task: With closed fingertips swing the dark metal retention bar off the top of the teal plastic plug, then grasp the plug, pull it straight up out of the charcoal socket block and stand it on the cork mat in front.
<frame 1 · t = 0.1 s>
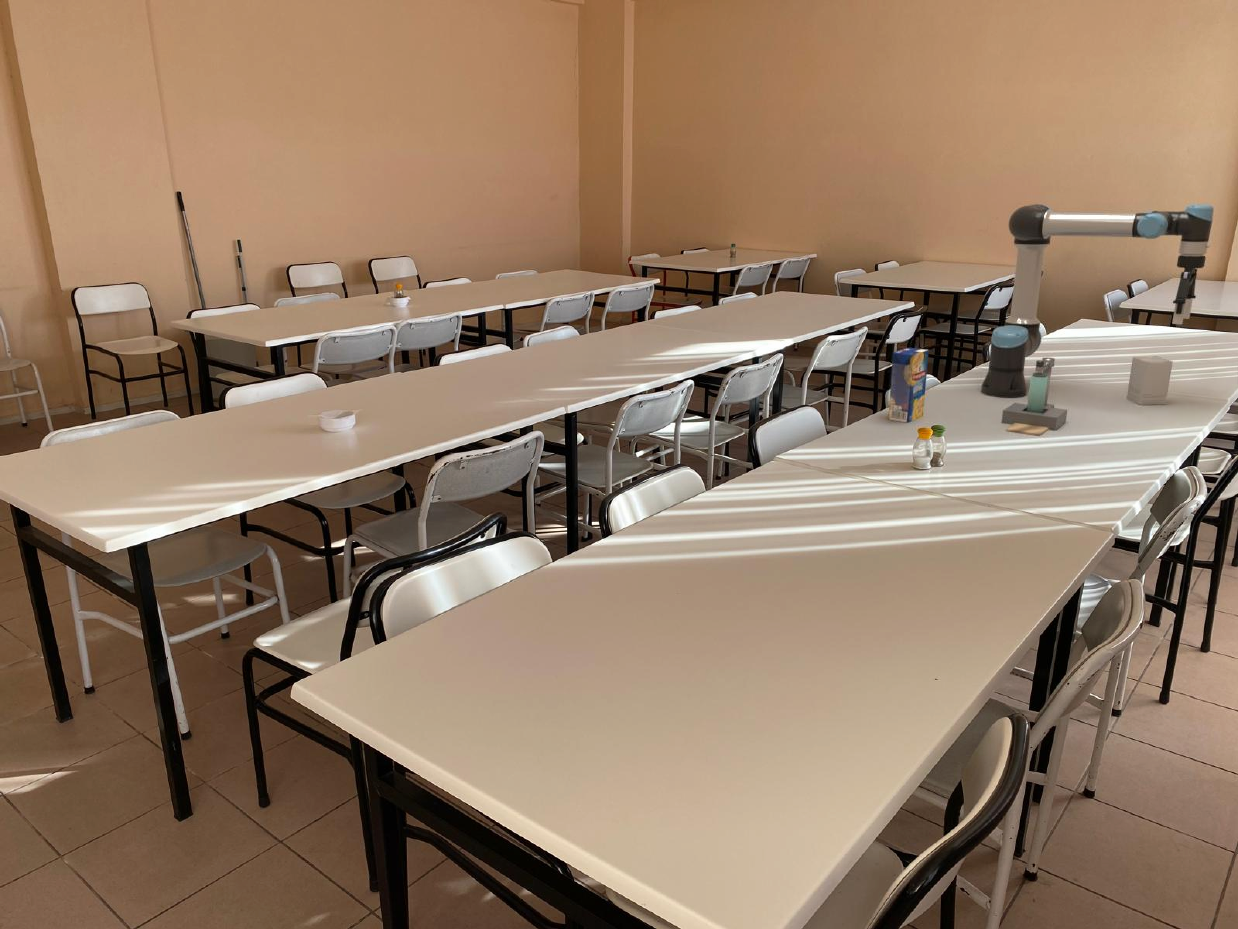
hand: (1180, 321, 292), 28 cm above the table, fingers open, 13 cm apart
socket block: (1033, 422, 283), on the table
blue food box: (905, 418, 292), on the table
cork mat: (1027, 429, 275), on the table
supplement box: (1145, 402, 304), on the table
plug: (1033, 422, 283), resting in socket block
clip: (1044, 363, 280), point 18 cm above the table, hinge at 0.0°
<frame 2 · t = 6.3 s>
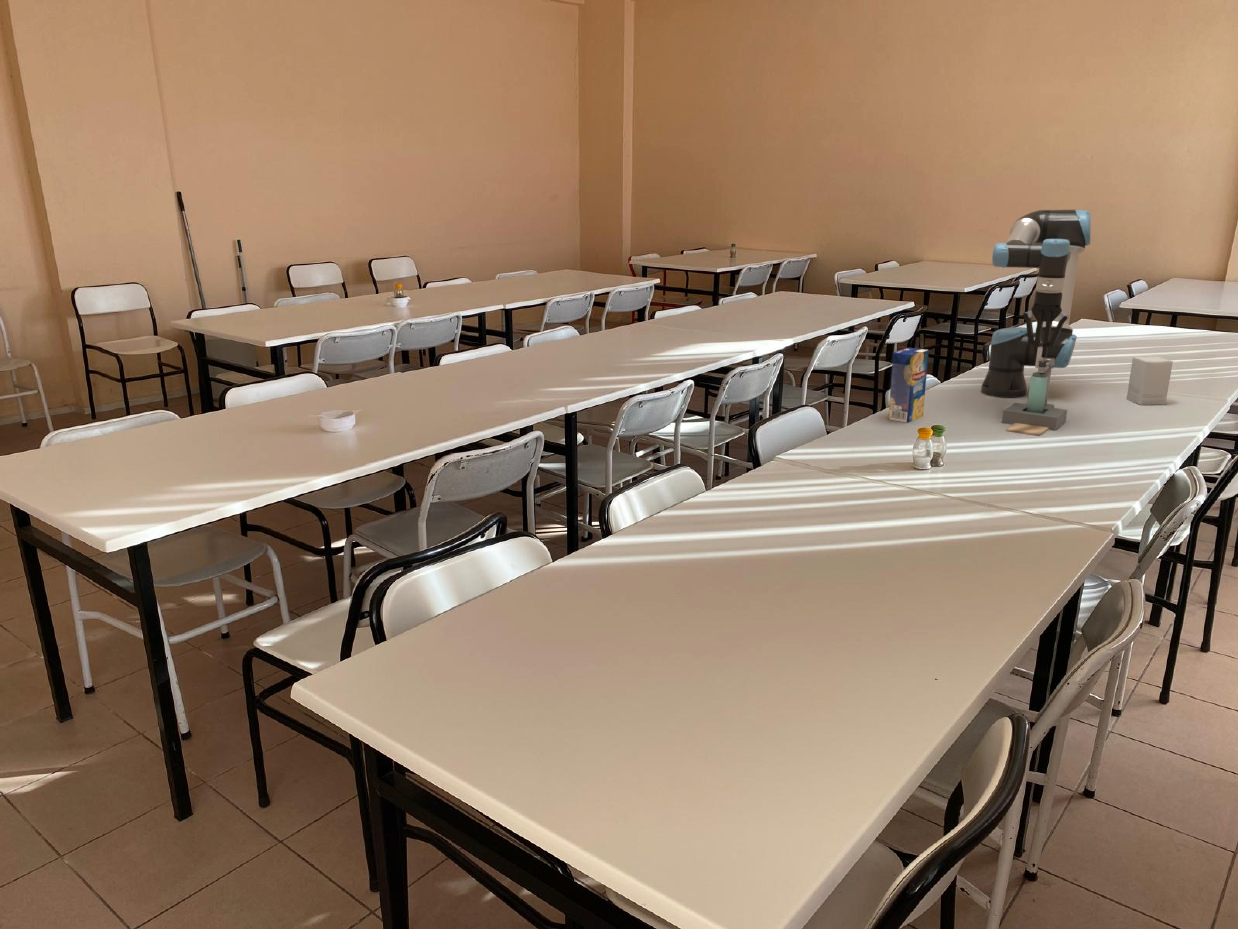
hand: (1038, 367, 279), 18 cm above the table, fingers closed
clip: (1045, 363, 280), point 18 cm above the table, hinge at 4.6°, touching gripper
everything else where it was.
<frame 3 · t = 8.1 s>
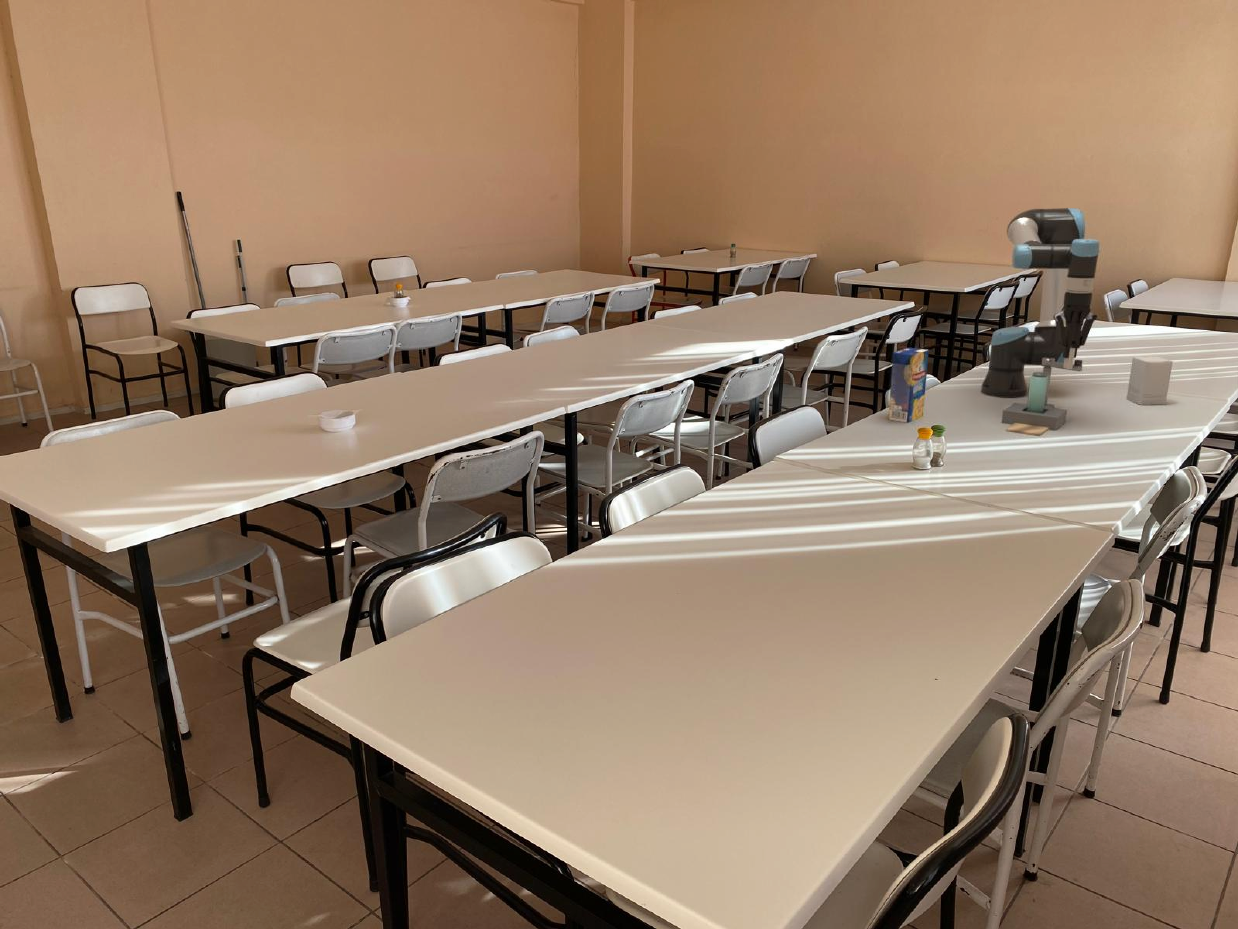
hand: (1067, 368, 276), 17 cm above the table, fingers closed
clip: (1061, 363, 280), point 18 cm above the table, hinge at 76.0°, touching gripper
everything else where it was.
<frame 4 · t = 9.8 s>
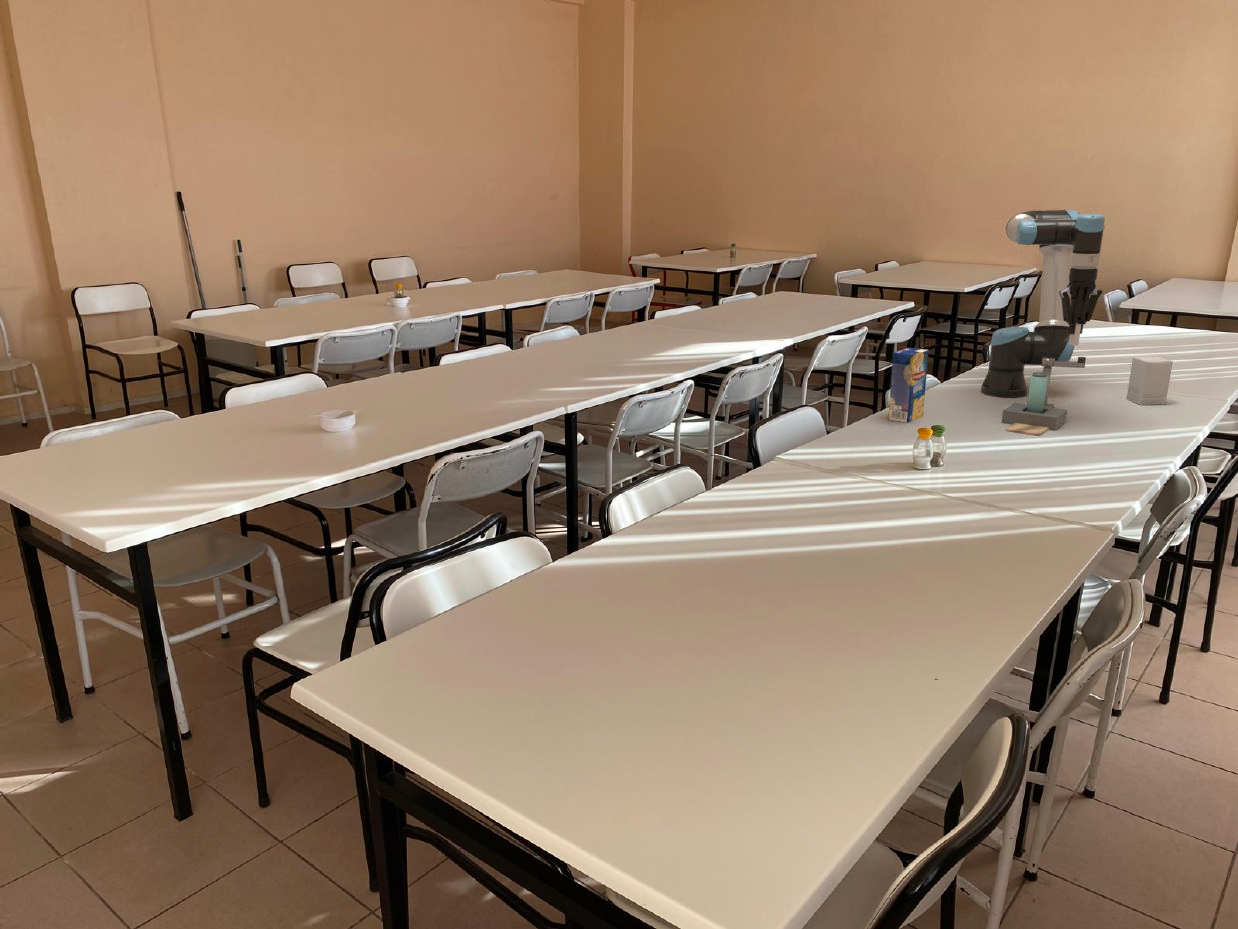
hand: (1073, 344, 276), 24 cm above the table, fingers closed
clip: (1063, 361, 282), point 18 cm above the table, hinge at 110.4°
everything else where it was.
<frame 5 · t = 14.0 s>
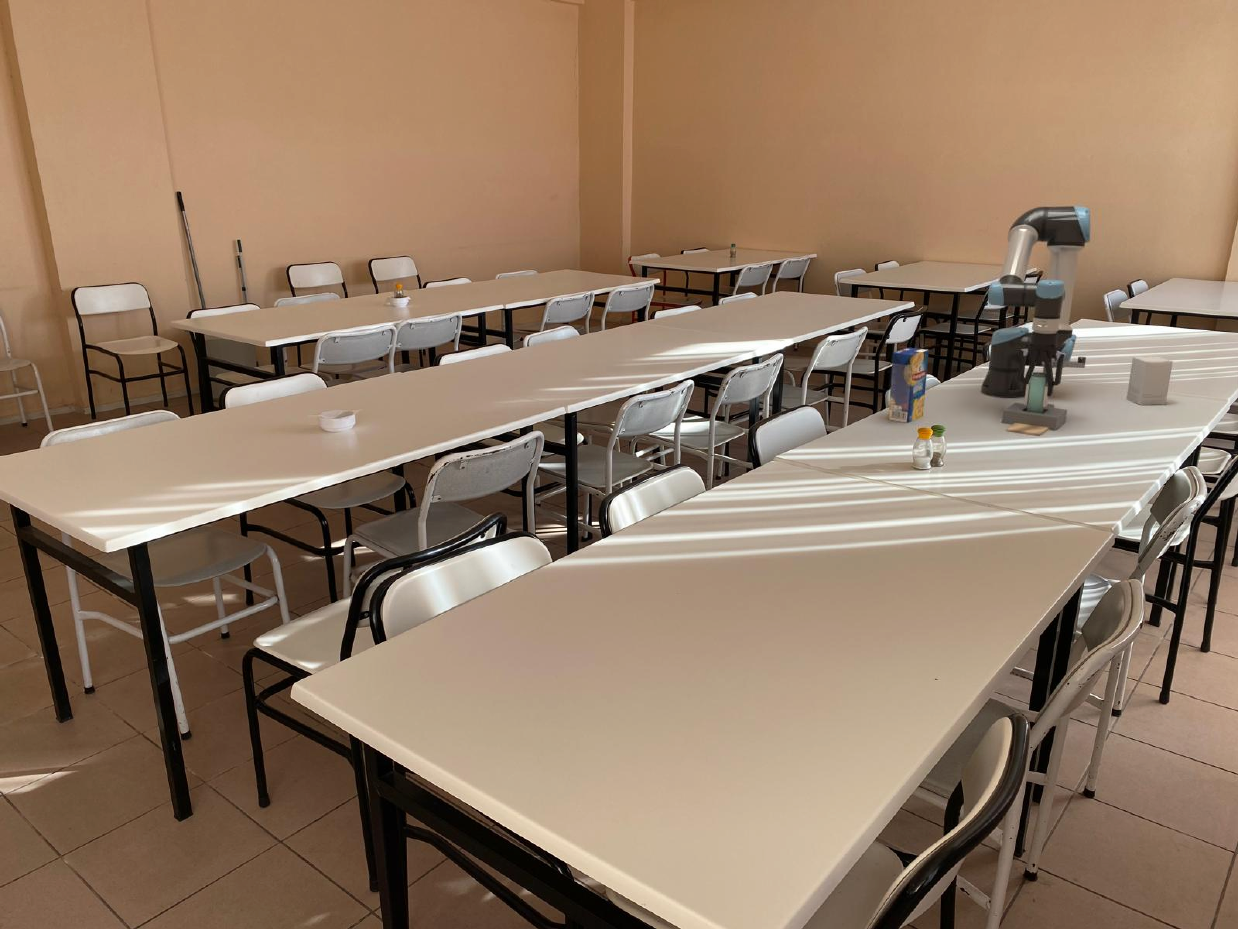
hand: (1035, 404, 281), 6 cm above the table, fingers closed on plug, 5 cm apart
plug: (1033, 422, 283), resting in socket block, touching gripper
everything else where it was.
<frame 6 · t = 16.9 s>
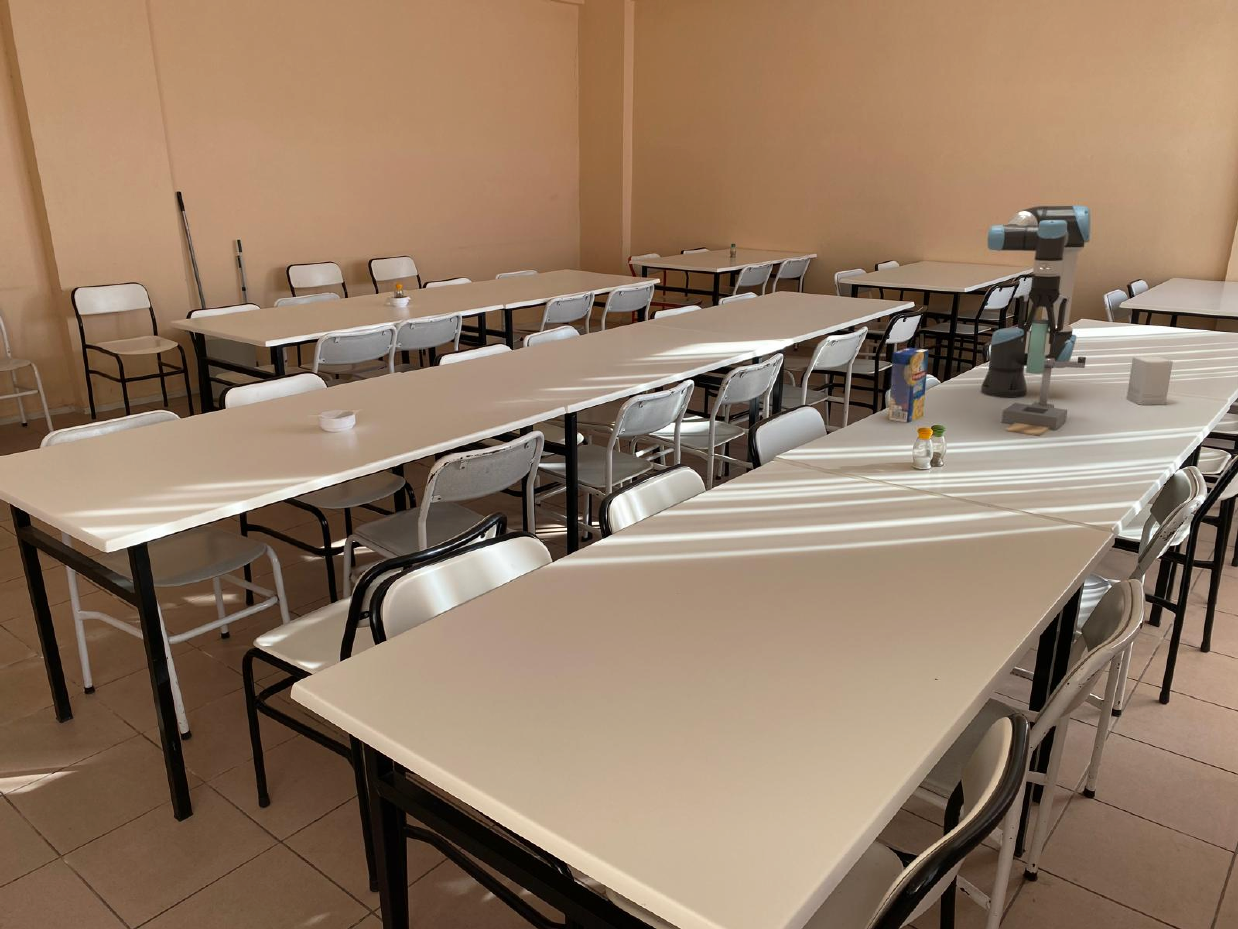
hand: (1036, 353, 267), 24 cm above the table, fingers closed on plug, 5 cm apart
plug: (1034, 372, 269), point 18 cm above the table, touching gripper
everything else where it was.
when the fingers open (7 cm above the table, at t = 20.1 s): plug stays where it is, resting on cork mat.
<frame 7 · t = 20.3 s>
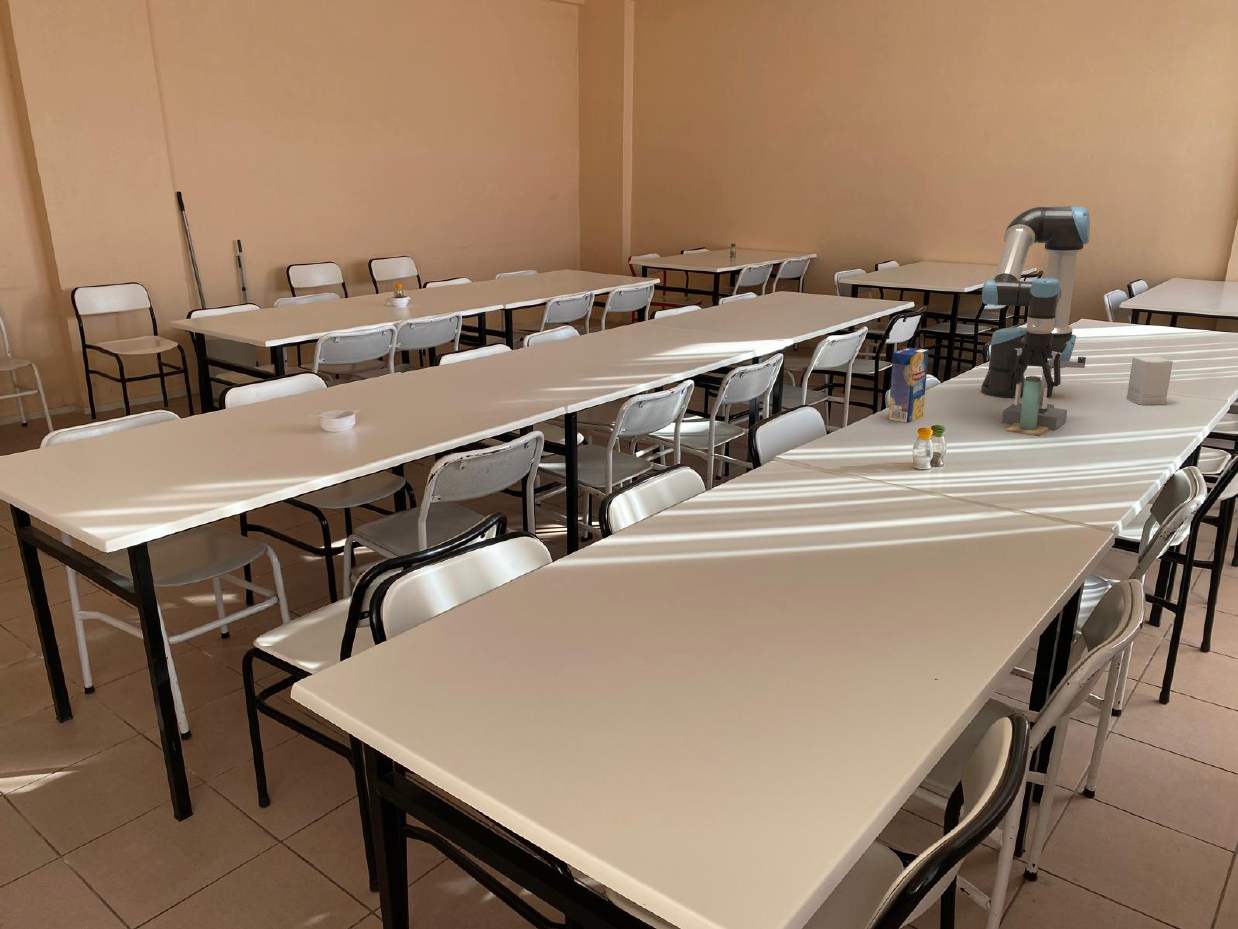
hand: (1030, 405, 272), 8 cm above the table, fingers open, 7 cm apart
plug: (1027, 427, 274), point 1 cm above the table, touching cork mat
everything else where it was.
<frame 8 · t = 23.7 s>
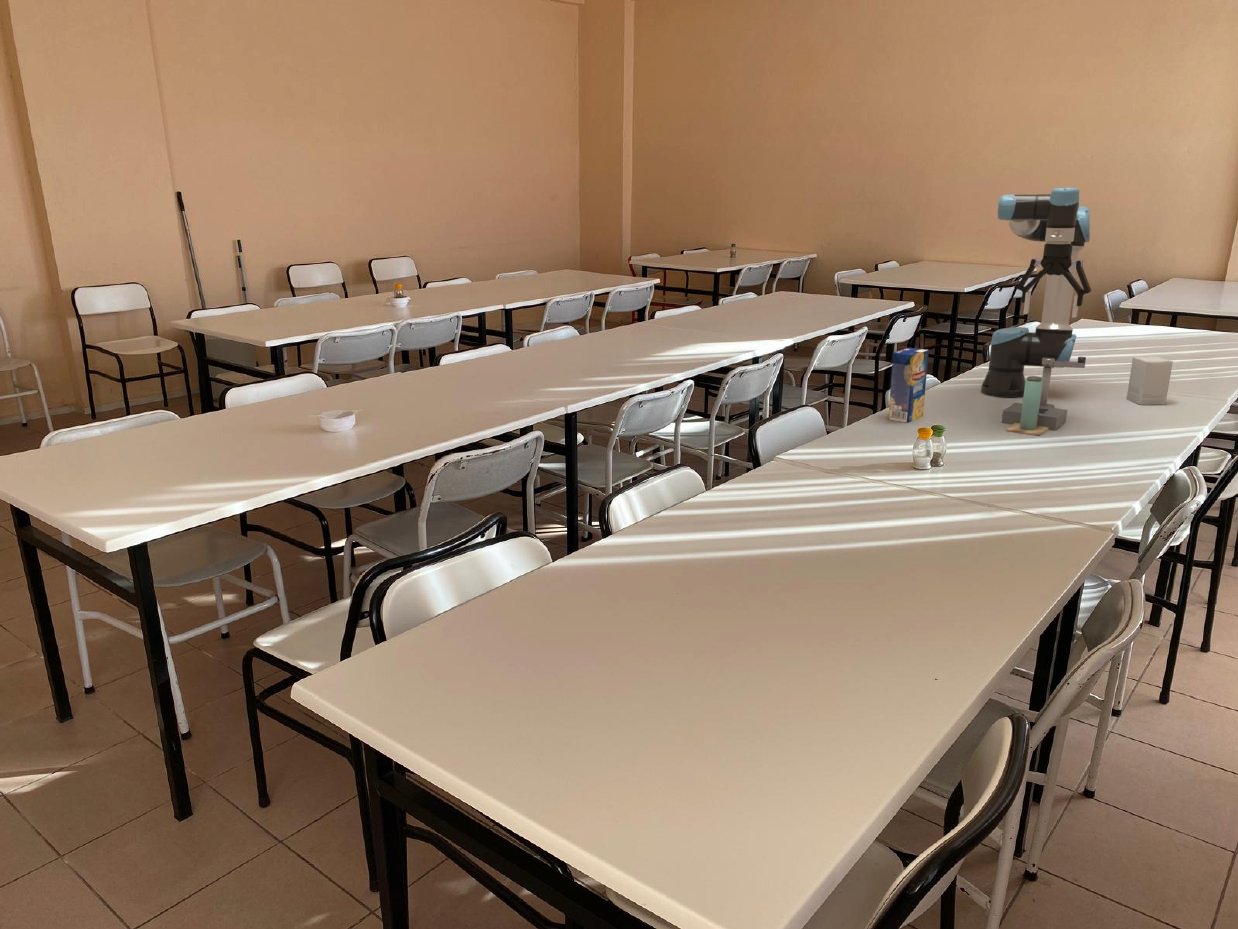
hand: (1049, 315, 267), 35 cm above the table, fingers open, 13 cm apart
nothing on the table moved.
at the end: clip at +110° (first picture: +0°); plug inside the target area on the cork mat (0.0 cm from its centre), point 0.6 cm above the cork mat's base; plug tilted 1° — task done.
